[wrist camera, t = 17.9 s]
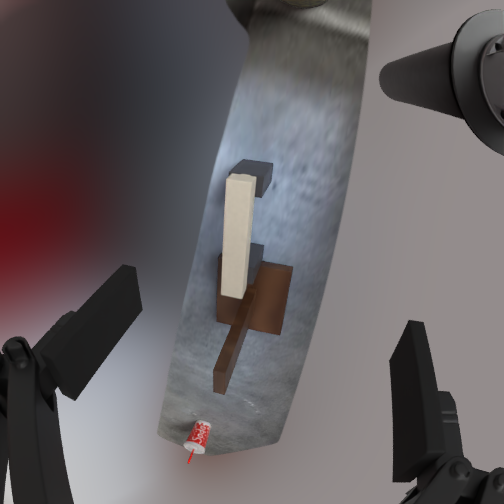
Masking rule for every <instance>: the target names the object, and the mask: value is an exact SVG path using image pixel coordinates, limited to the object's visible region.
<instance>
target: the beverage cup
mask: <svg viewBox="0 0 504 504" xmlns="http://www.w3.org/2000/svg"><path fill="white" fill-rule="evenodd" d="M210 429H211V425H210V424H209V423H208V422H206V421H203V420H197V421H196V423H195V425H194V427H193V429H192V431H191V433H190V435H189V437H188V439H187V441H186V442H185V443H184V447H185V448H186V449H187V450H189V451H191V452H192V453H191V456H190V458H189V460H188V464H189V462H190V460H191V457H192V455H193V452H194V453H197V454H203V453H204V452H205V446H206V443H207V439H208V436H209V432H210Z"/></svg>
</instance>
